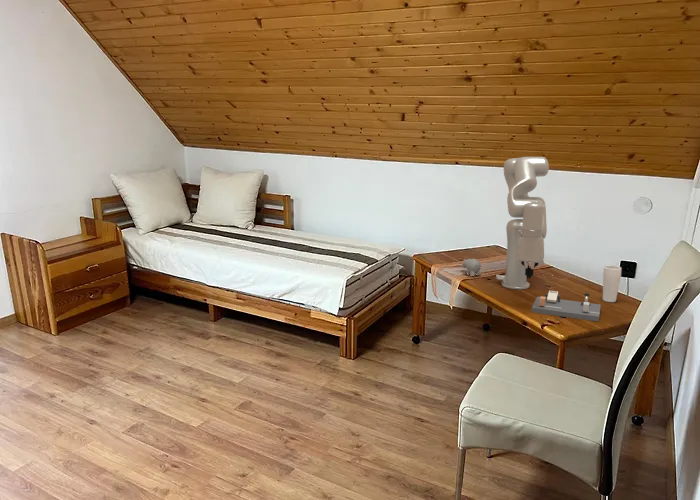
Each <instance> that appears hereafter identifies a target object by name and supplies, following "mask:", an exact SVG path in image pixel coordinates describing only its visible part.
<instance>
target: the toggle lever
mask: <svg viewBox="0 0 700 500" xmlns="http://www.w3.org/2000/svg"><path fill="white" fill-rule="evenodd" d="M589 296H590V293H589V292H585V293H584V302H589Z"/></svg>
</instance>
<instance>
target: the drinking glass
mask: <svg viewBox="0 0 700 500" xmlns="http://www.w3.org/2000/svg"><path fill="white" fill-rule="evenodd" d="M621 278H622V266H619V265H613V264H612V265H611V264H608V265H604V267H603V274H602V301H603V302H606V303H615V302H616V301H617V298H618V292H619V287H620V283H621Z"/></svg>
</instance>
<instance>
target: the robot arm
mask: <svg viewBox="0 0 700 500" xmlns="http://www.w3.org/2000/svg"><path fill="white" fill-rule="evenodd" d="M549 169H550V164H549V161H548V159H547V158H546V157H544V156H521V157H514V158H512V157H511V158H508V159H507V160H505V161H504V163H503V176H504V180H505V181H506V185H507V187H508V193H507V197H506V198H507V199H506V200H507V201H506V202H507V203H506V204H507V211H508V214H509V216H510V217H512V218H514V219H511V220H509V221H508V222H507V224H506V227H505V230H506V242H507V245H506V260H505V261H506V264H505V274H503V275H501V274H496V275H495V279H497V280H498V281H501V285H502V287H504V288H507V289H511V290H526V289H528V288H530V285H531V284H530V283H529V282H528V281H527V279H531V278H532V277H534V269H535V268H536V267H538V266H542V265H543V266H544V264H545V260H544V259H545V241H544V239H546V237H547V207H546V202H545V199H544V198H542V197H540V196H530V195H529V193H530V192H532V191H534V190H535V189H536V188H537V184H538V181H537V177H545V176H547V175H548V173H549ZM515 218H516V219H515ZM529 263H531V265H529Z"/></svg>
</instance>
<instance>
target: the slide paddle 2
mask: <svg viewBox="0 0 700 500" xmlns="http://www.w3.org/2000/svg"><path fill="white" fill-rule="evenodd" d="M583 302H584V305H583V311H584V312H589V301H588V302H585V301H583Z"/></svg>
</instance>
